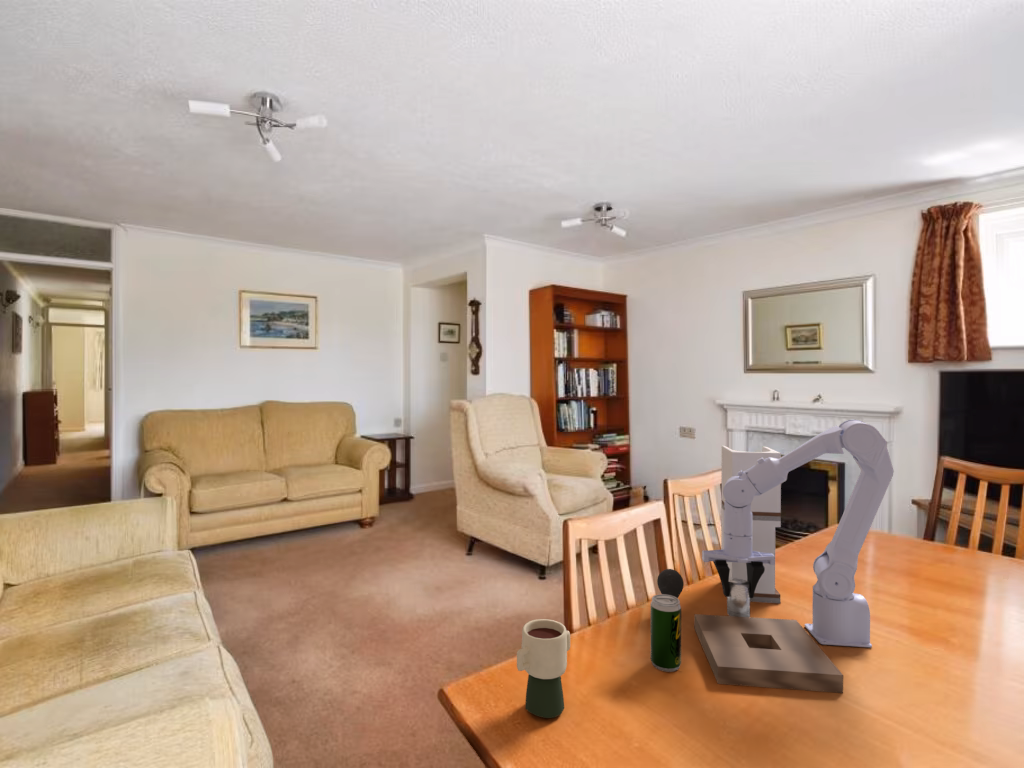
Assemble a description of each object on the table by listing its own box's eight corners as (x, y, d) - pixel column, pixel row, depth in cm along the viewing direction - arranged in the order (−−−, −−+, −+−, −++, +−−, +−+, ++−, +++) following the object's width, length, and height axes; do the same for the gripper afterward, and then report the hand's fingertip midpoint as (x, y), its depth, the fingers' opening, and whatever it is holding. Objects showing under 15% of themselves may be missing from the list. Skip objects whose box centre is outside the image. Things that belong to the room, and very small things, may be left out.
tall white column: (780, 603, 122) (780, 453, 122) (732, 600, 124) (732, 452, 124) (765, 584, 134) (765, 446, 133) (721, 581, 136) (721, 445, 135)
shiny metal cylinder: (746, 610, 116) (745, 578, 116) (752, 619, 111) (752, 586, 111) (724, 609, 116) (724, 577, 116) (730, 618, 112) (730, 585, 112)
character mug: (555, 686, 90) (554, 611, 90) (585, 707, 84) (584, 627, 84) (503, 711, 84) (503, 630, 83) (532, 736, 78) (532, 648, 78)
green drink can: (649, 670, 95) (649, 604, 95) (651, 654, 100) (651, 592, 100) (681, 674, 94) (681, 607, 93) (681, 659, 99) (681, 595, 98)
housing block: (796, 634, 108) (796, 619, 108) (843, 692, 88) (843, 675, 88) (694, 628, 111) (694, 614, 111) (717, 683, 91) (717, 666, 91)
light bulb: (685, 621, 114) (685, 575, 114) (658, 619, 115) (658, 573, 115) (682, 609, 119) (682, 566, 119) (656, 607, 120) (656, 564, 120)
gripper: (707, 537, 111) (707, 601, 111) (780, 540, 109) (780, 605, 109) (700, 527, 118) (700, 588, 118) (768, 530, 116) (768, 591, 116)
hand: (737, 595), depth 114 cm, fingers closed on shiny metal cylinder, 4 cm apart
